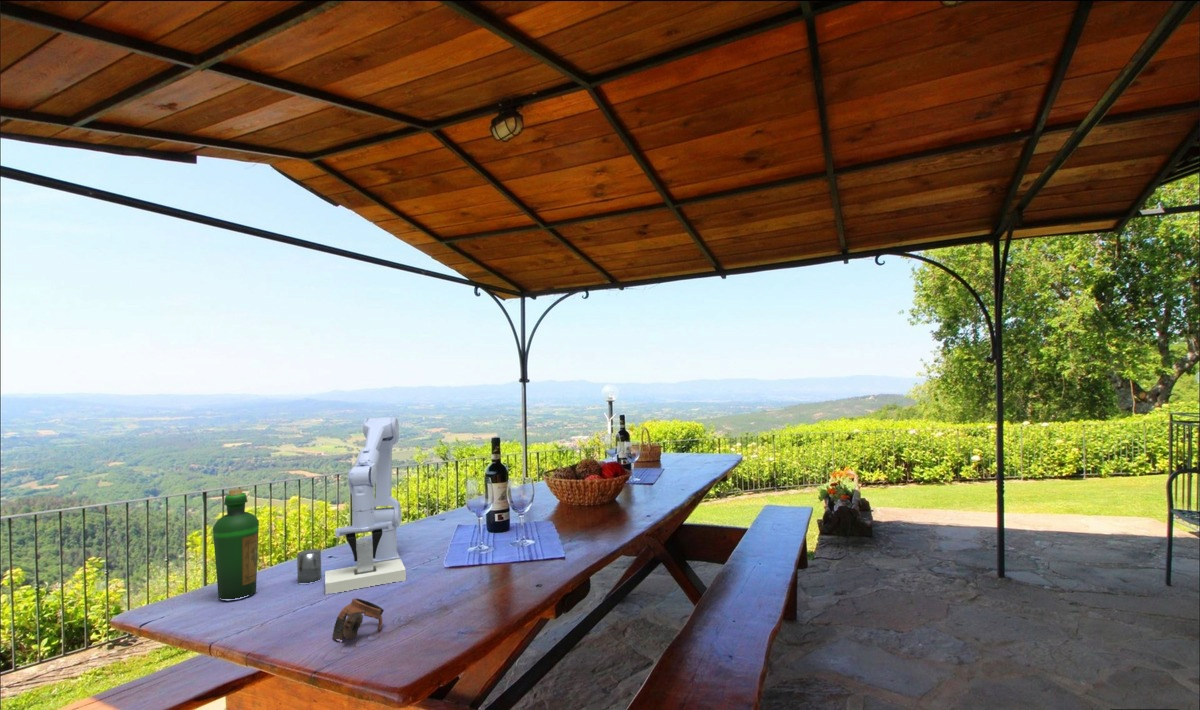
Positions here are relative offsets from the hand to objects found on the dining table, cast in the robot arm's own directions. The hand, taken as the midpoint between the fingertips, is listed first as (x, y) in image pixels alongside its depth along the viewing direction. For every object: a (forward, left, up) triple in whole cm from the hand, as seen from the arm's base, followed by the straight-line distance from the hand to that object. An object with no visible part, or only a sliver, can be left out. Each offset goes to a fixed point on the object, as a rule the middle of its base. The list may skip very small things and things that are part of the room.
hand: (364, 559), depth 161 cm
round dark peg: (-10, -14, -6) cm, 18 cm away
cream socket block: (0, 0, -6) cm, 6 cm away
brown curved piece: (+38, -4, -6) cm, 38 cm away
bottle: (-7, -31, -6) cm, 32 cm away
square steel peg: (0, 0, -3) cm, 3 cm away
